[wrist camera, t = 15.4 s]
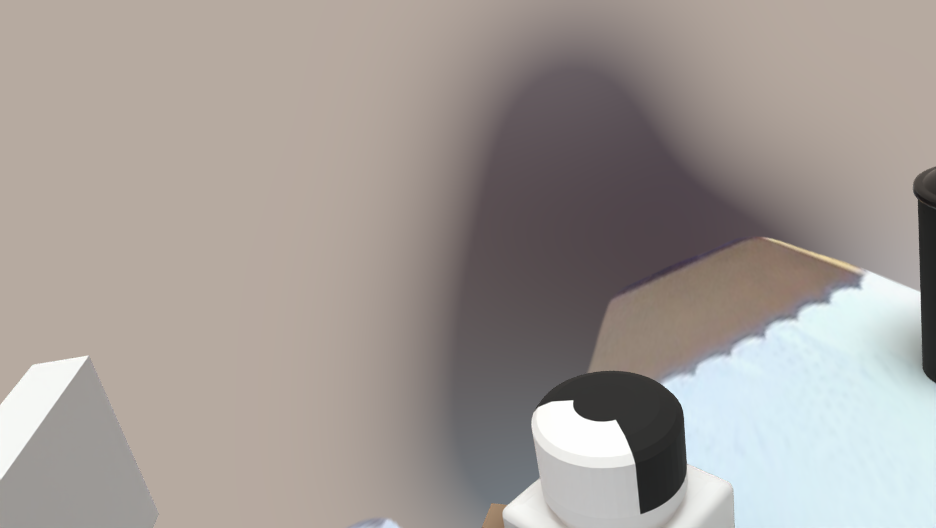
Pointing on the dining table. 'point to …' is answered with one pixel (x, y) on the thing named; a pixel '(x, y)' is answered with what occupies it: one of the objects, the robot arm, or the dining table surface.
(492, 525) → the serving board
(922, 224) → the drinking cup
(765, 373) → the dining table surface
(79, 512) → the robot arm
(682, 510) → the container
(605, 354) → the dining table surface
